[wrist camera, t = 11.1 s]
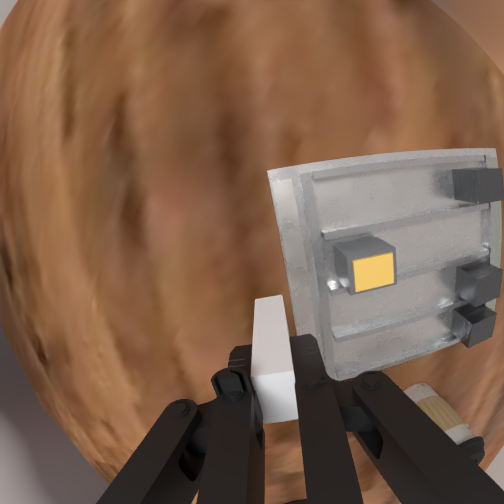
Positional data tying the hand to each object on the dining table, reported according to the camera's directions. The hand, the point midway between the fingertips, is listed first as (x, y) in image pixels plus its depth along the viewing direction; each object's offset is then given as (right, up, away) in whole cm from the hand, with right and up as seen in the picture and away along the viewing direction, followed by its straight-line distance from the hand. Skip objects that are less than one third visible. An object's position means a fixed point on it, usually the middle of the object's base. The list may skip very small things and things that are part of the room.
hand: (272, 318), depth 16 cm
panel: (+15, +3, +10) cm, 18 cm away
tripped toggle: (+8, +3, +8) cm, 12 cm away
